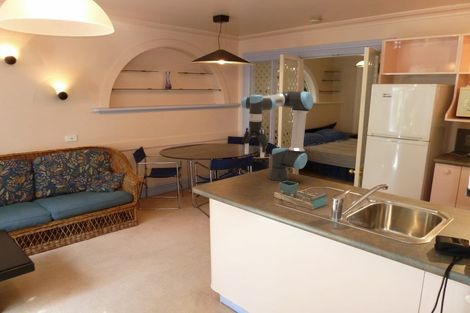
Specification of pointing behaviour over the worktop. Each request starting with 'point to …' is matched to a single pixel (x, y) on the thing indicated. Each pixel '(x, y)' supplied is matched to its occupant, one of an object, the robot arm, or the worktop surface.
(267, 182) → the worktop surface
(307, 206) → the guide rails
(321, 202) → the teal flat block
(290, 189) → the flower pot
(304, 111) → the robot arm
